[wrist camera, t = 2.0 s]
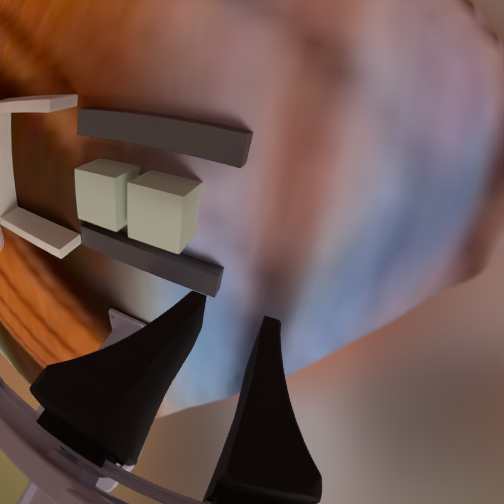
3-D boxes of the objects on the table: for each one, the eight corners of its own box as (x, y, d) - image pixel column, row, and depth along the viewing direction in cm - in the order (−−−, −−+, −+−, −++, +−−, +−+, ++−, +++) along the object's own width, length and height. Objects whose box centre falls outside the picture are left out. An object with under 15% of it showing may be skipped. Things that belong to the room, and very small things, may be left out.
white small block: (197, 233, 20) (178, 254, 18) (150, 218, 21) (128, 237, 18) (203, 181, 18) (183, 196, 16) (152, 169, 18) (127, 182, 16)
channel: (219, 287, 22) (214, 297, 21) (91, 238, 23) (83, 245, 22) (253, 132, 16) (247, 134, 15) (89, 106, 17) (78, 108, 16)
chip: (139, 214, 21) (116, 232, 18) (102, 203, 21) (78, 218, 19) (140, 165, 18) (114, 178, 16) (101, 157, 19) (74, 168, 16)
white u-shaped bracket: (81, 242, 24) (61, 258, 21) (15, 211, 25) (-2, 222, 22) (78, 94, 16) (50, 99, 14) (7, 98, 17) (-14, 104, 15)
